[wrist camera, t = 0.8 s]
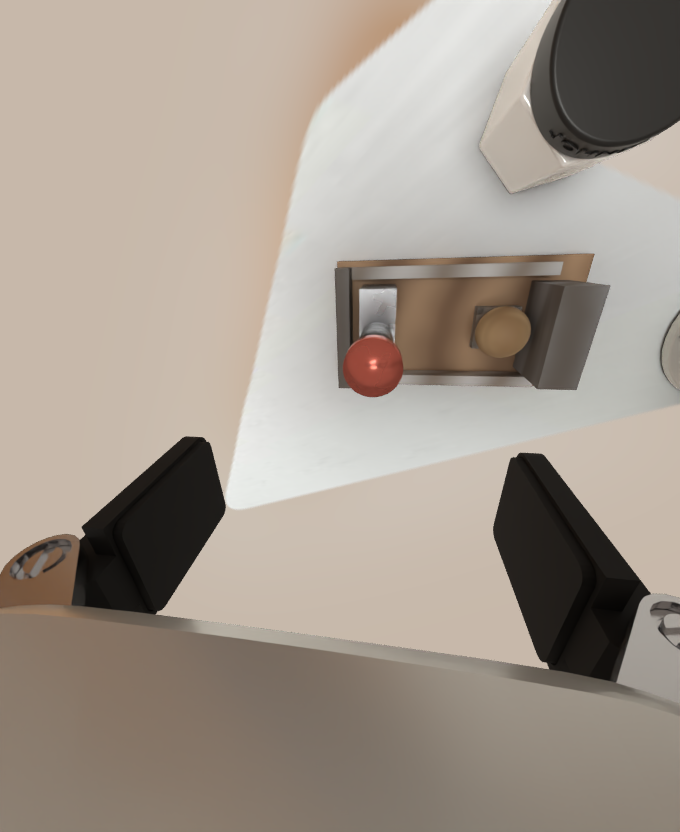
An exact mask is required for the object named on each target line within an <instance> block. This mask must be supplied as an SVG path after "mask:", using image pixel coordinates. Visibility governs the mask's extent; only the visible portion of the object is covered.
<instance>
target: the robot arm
mask: <svg viewBox="0 0 680 832" xmlns="http://www.w3.org/2000/svg"><path fill="white" fill-rule="evenodd" d="M662 365H663V370H664V373H665V375H666V377H667V378H668V380H669V382H670V383H671V384H672V385H674V386H675V387H676V388H677V389H678V390H680V314H679V315H678V317H677V318H676V320H675V321H674V322H673V324H672V326H671V328H670V330H669V332H668V334H667V336H666V338H665V342H664V345H663V349H662ZM225 508H226V505H225V500H224V496H223V492H222V488H221V484H220V480H219V476H218V472H217V468H216V464H215V460H214V456H213V452H212V448H211V445H210V443H209V442H206V440H205V439H204V438H203V437H184V438H182V439H181V440H180V441H179V442H177V443H176V444H175V445H174V446H173V447H172V448H171V449H170V450H168V451H167V452H166V453H165V454H164V455H163V456H162V457H160V458H159V459H158V460H157V461H156V462H155V463H154V464H152V465H151V466H150V467H149V468H148V469H147V470H146V471H145V472H143V473H142V474H141V475H140V476H139V477H138V478H137V479H135V480H134V481H133V482H132V483H131V484H130V485H129V486H127V487H126V488H125V489H124V490H123V491H122V492H121V493H120V494H118V496H116V497H115V498H114V499H113V500H112V501H110V502H109V503H108V504H107V505H106V506H105V507H104V508H102V509H101V510H100V511H99V512H98V513H97V514H96V515H95V516H93V517H92V518H91V519H90V520H89V521H88V522H87V523H85V524H84V525H83V526H82V529H83V531H84V533H85V536H84V537H83V538H82V539H81V540H79V539H78V538H77V537H76V536H75V535H70V534H62V535H56V536H52V537H48V538H46V539H43V540H41V541H38V542H36V543H34V544H33V545H31V546H29V547H27V548H25V549H24V550H23V551H21V552H20V553H18V554H17V555H16V556H14V557H13V558H12V559H11V560H10V561H9V562H8V563H7V564H6V565H5V567H4V568H3V570H2V572H1V574H0V832H680V598H679V597H674V596H671V595H667V594H651V593H650V592H649V591H648V590H647V588H646V587H645V586H644V584H643V583H642V582H641V580H640V579H639V578H638V576H637V575H636V574H635V573H634V571H633V570H632V569H631V567H630V566H629V565H628V563H627V562H626V561H625V560H624V558H623V557H622V556H621V555H620V553H619V552H618V551H617V549H616V548H615V547H614V545H613V544H612V543H611V542H610V540H609V539H608V537H607V536H606V535H605V534H604V532H603V531H602V530H601V528H600V527H599V526H598V524H597V523H596V522H595V521H594V519H593V518H592V517H591V516H590V514H589V513H588V511H587V510H586V509H585V508H584V507H583V505H582V504H581V503H580V501H579V500H578V499H577V498H576V496H575V495H574V494H573V492H572V491H571V490H570V488H569V487H568V486H567V484H566V483H565V482H564V481H563V479H562V478H561V477H560V475H559V474H558V473H557V472H556V470H555V469H554V468H553V466H552V465H551V464H550V462H549V461H548V460H547V459H546V457H545V456H544V455H543V454H536V453H535V454H534V453H519V454H518V456H517V457H516V458H514V457H513V458H511V459H510V462H509V466H508V470H507V474H506V478H505V483H504V486H503V490H502V494H501V498H500V502H499V506H498V510H497V514H496V518H495V522H494V526H493V533H494V538H495V541H496V544H497V547H498V549H499V552H500V555H501V558H502V560H503V563H504V566H505V569H506V571H507V574H508V576H509V579H510V582H511V585H512V587H513V590H514V593H515V595H516V599H517V601H518V604H519V607H520V609H521V612H522V615H523V617H524V620H525V623H526V626H527V628H528V631H529V634H530V636H531V639H532V642H533V645H534V648H535V650H536V653H537V655H538V657H539V659H540V660H541V661H542V662H546V663H547V664H548V667H549V669H550V670H549V669H543V668H537V667H530V666H523V665H518V664H511V663H505V662H499V661H492V660H486V659H479V658H472V657H465V656H457V655H450V654H444V653H436V652H430V651H423V650H415V649H408V648H401V647H393V646H387V645H380V644H373V643H365V642H358V641H350V640H343V639H336V638H329V637H321V636H314V635H306V634H299V633H292V632H284V631H277V630H269V629H262V628H255V627H247V626H240V625H232V624H224V623H217V622H208V621H201V620H193V619H185V618H177V617H170V616H162V615H155V614H156V613H157V611H160V610H162V609H163V608H164V607H165V606H166V604H167V603H168V601H169V599H170V598H171V596H172V595H173V593H174V592H175V590H176V589H177V587H178V585H179V584H180V582H181V581H182V579H183V578H184V576H185V574H186V573H187V571H188V570H189V568H190V567H191V565H192V564H193V562H194V561H195V559H196V557H197V556H198V554H199V553H200V551H201V550H202V548H203V547H204V545H205V543H206V542H207V540H208V539H209V537H210V536H211V534H212V533H213V531H214V529H215V528H216V526H217V525H218V523H219V522H220V520H221V518H222V517H223V515H224V513H225Z"/></svg>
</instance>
